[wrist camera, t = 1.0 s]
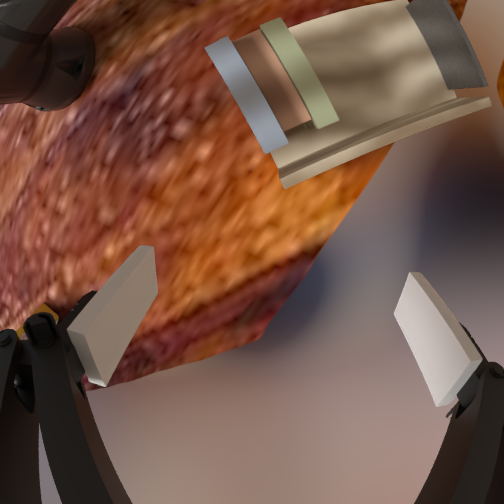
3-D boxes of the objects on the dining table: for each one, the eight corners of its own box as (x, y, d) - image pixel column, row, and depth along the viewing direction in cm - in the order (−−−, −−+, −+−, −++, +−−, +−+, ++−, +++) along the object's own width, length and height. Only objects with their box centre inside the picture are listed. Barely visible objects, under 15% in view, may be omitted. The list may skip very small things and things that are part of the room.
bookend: (405, 6, 23) (432, -14, 15) (409, 6, 23) (437, -15, 14) (447, 89, 28) (484, 86, 20) (451, 88, 27) (488, 86, 19)
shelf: (219, 61, 31) (189, 29, 18) (403, 1, 23) (448, -33, 10) (282, 175, 37) (286, 201, 24) (455, 105, 29) (517, 107, 17)
